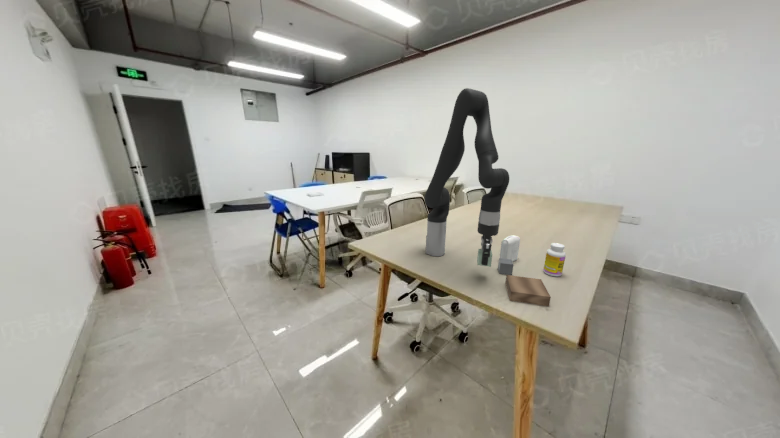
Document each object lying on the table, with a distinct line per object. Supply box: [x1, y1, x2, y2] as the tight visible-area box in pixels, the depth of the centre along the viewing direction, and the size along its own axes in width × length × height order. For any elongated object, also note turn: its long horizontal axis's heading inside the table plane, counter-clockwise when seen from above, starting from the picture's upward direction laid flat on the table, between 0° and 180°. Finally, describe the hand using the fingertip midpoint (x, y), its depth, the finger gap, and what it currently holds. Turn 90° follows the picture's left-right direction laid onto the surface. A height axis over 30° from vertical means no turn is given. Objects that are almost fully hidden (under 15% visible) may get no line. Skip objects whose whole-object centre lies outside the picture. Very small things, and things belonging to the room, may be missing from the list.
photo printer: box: [499, 234, 521, 263], centre depth 115 cm, size 10×4×12 cm, turn 123°
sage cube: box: [476, 248, 493, 268], centre depth 100 cm, size 5×5×5 cm
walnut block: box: [505, 274, 551, 307], centre depth 90 cm, size 12×12×4 cm
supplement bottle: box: [542, 242, 567, 277], centre depth 103 cm, size 7×7×13 cm
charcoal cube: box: [497, 257, 514, 276], centre depth 106 cm, size 5×5×5 cm
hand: (484, 261), depth 100 cm, fingers closed on sage cube, 5 cm apart
